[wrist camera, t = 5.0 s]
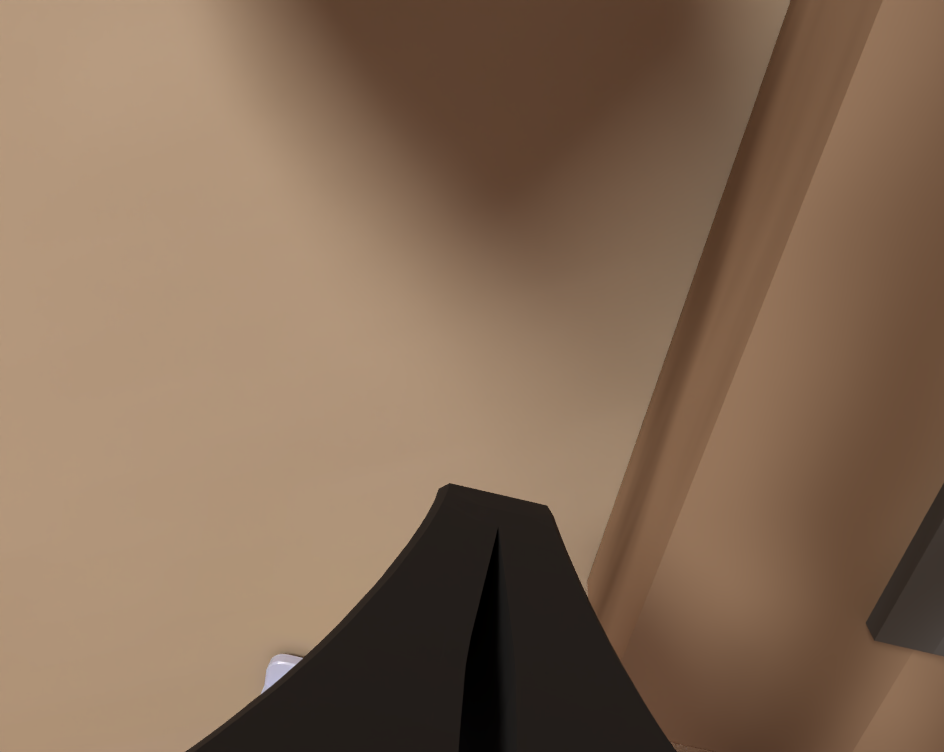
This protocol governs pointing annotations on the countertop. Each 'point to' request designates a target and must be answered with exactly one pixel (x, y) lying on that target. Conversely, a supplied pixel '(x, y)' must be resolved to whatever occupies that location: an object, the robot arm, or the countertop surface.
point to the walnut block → (802, 418)
